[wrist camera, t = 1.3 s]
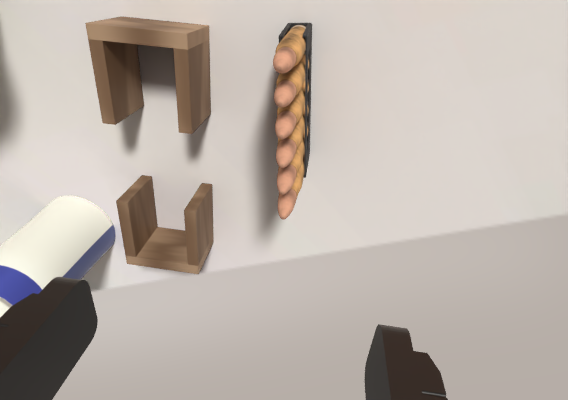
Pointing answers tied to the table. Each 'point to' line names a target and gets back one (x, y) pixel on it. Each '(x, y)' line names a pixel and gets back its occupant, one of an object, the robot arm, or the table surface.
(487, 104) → the table surface
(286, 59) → the ammunition clip
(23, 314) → the robot arm
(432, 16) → the table surface
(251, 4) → the table surface
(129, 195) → the end cap
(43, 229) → the water bottle
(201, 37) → the end cap
